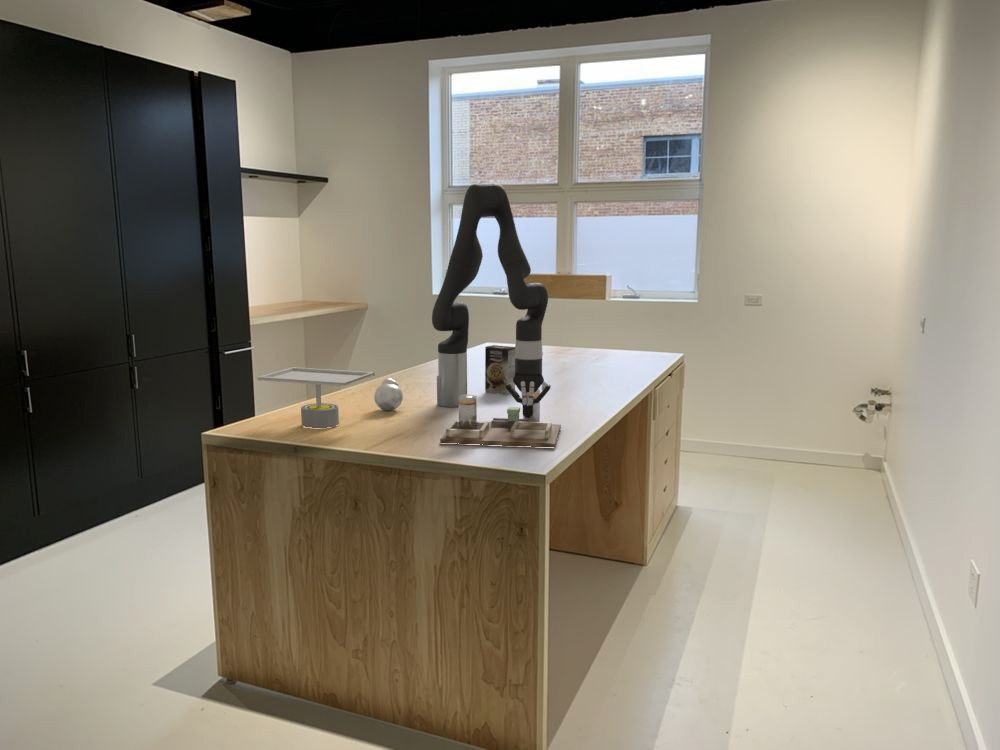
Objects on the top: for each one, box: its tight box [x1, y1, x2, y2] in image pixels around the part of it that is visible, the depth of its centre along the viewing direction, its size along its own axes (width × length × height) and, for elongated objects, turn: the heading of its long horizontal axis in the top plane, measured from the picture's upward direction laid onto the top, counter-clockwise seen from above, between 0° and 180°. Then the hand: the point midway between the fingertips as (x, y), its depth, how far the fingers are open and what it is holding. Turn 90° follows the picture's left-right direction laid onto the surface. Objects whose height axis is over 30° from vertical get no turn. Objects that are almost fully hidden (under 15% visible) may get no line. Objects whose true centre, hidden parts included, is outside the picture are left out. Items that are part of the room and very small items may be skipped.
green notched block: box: [506, 406, 521, 421], centre depth 209 cm, size 3×3×5 cm
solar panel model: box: [256, 366, 376, 428], centre depth 214 cm, size 28×17×15 cm, turn 71°
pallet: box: [439, 417, 562, 448], centre depth 203 cm, size 30×20×4 cm, turn 81°
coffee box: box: [484, 344, 516, 395], centre depth 260 cm, size 9×6×16 cm
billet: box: [522, 388, 541, 422], centre depth 217 cm, size 5×5×10 cm
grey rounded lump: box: [373, 377, 404, 412], centre depth 234 cm, size 9×10×10 cm
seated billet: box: [458, 394, 478, 430], centre depth 200 cm, size 5×5×10 cm
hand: (528, 417), depth 208 cm, fingers closed
